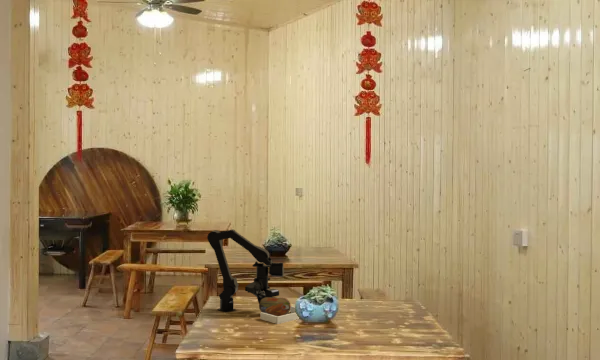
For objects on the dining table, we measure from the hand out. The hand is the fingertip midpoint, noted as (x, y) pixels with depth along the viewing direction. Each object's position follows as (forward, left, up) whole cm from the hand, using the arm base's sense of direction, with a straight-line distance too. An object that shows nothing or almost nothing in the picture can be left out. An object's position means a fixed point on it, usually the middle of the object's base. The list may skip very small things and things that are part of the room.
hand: (261, 308), depth 280 cm
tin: (+9, +1, -2) cm, 9 cm away
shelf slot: (+16, 0, -2) cm, 16 cm away
